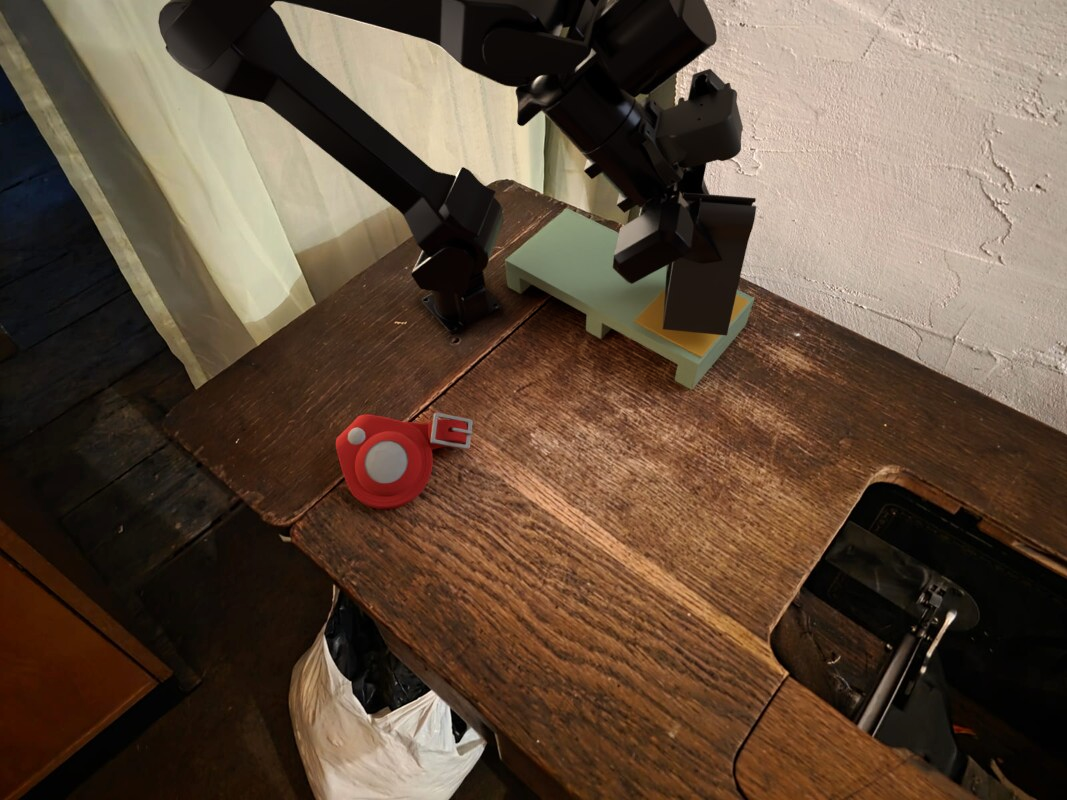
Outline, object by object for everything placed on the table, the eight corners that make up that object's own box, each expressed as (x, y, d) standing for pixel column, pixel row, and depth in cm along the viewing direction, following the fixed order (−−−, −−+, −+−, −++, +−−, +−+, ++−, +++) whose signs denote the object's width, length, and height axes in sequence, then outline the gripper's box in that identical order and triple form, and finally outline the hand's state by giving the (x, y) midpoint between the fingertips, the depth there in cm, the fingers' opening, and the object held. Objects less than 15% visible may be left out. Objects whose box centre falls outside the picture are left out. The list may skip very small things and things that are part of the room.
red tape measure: (388, 529, 57) (306, 454, 59) (398, 534, 62) (322, 464, 63) (483, 424, 60) (402, 356, 62) (486, 436, 64) (410, 372, 66)
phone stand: (666, 264, 69) (685, 163, 59) (726, 270, 68) (755, 169, 58) (661, 330, 64) (681, 232, 54) (726, 337, 63) (757, 239, 53)
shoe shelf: (507, 286, 76) (504, 258, 72) (566, 235, 81) (566, 206, 77) (691, 390, 66) (698, 363, 63) (746, 324, 71) (755, 296, 68)
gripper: (677, 134, 42) (805, 286, 50) (702, 0, 53) (804, 141, 60) (555, 218, 50) (681, 340, 57) (598, 86, 60) (700, 203, 68)
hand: (720, 251), depth 60 cm, fingers closed on phone stand, 3 cm apart
